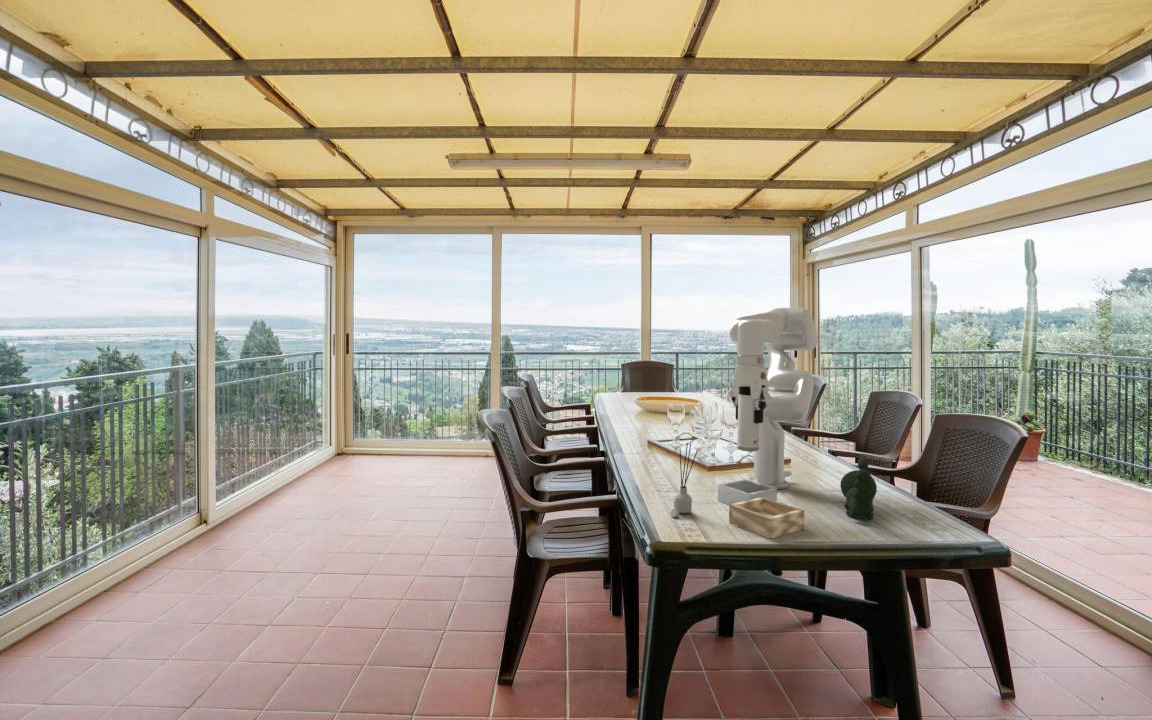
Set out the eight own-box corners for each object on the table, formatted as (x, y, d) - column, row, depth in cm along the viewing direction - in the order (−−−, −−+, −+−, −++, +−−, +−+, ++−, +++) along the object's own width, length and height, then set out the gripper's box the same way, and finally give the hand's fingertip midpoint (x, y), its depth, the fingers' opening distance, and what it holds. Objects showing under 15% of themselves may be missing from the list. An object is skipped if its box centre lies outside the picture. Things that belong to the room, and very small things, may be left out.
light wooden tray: (762, 514, 154) (762, 496, 154) (803, 529, 143) (804, 510, 143) (728, 522, 147) (729, 504, 147) (769, 539, 136) (770, 519, 136)
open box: (744, 494, 173) (745, 479, 173) (776, 505, 163) (777, 488, 162) (717, 500, 167) (718, 484, 166) (748, 511, 156) (749, 494, 156)
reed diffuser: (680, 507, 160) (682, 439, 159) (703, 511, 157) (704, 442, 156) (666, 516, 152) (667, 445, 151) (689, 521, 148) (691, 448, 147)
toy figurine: (881, 535, 143) (873, 500, 166) (885, 466, 141) (876, 440, 163) (841, 530, 147) (838, 496, 170) (844, 462, 145) (841, 437, 167)
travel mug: (761, 452, 160) (763, 384, 159) (738, 451, 162) (739, 384, 160) (758, 447, 166) (760, 382, 165) (736, 446, 168) (737, 381, 166)
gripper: (783, 362, 157) (781, 424, 158) (736, 359, 172) (735, 416, 173) (765, 363, 153) (764, 427, 154) (719, 360, 168) (718, 418, 169)
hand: (749, 420), depth 164 cm, fingers closed on travel mug, 6 cm apart
